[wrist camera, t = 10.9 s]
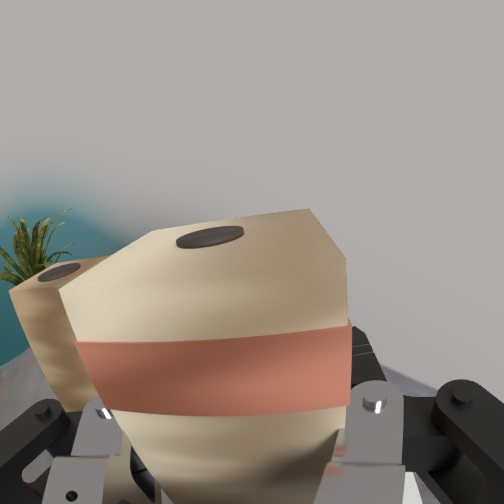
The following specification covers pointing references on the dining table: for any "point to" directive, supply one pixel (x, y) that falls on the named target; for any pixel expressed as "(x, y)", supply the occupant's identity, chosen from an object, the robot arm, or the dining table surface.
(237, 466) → the maple post
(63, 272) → the oak post
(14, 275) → the house plant
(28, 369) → the dining table surface
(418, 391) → the dining table surface
